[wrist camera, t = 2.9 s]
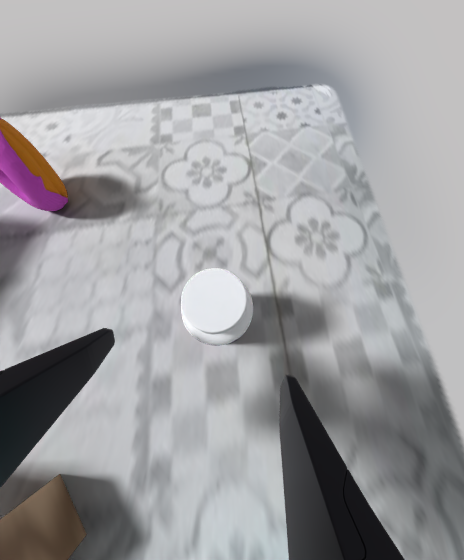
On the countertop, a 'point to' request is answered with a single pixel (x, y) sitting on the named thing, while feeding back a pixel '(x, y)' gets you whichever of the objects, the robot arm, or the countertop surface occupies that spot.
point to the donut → (28, 172)
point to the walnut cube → (42, 526)
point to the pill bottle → (216, 307)
